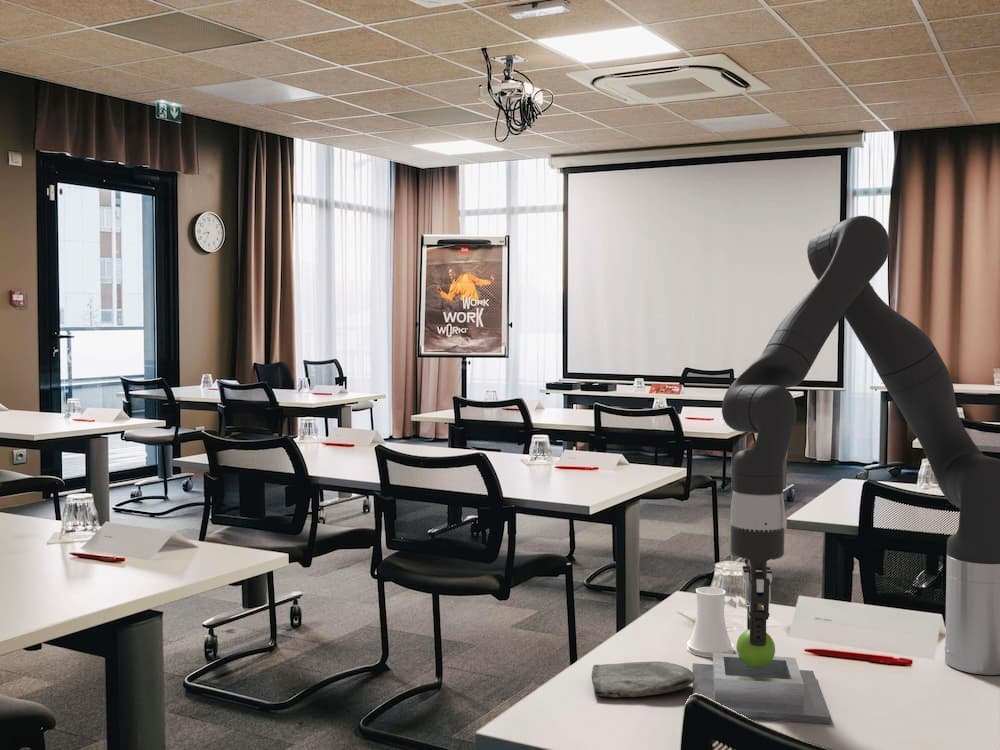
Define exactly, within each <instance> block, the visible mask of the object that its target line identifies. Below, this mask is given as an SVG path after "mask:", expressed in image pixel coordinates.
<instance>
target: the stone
mask: <svg viewBox="0 0 1000 750" xmlns="http://www.w3.org/2000/svg"><path fill="white" fill-rule="evenodd" d="M694 680H695V676H694V674H693V671H692V670H691V669H689V668H687V667H685V666H682V665H680V664H676V663H672V662H667V661H637V662H636V661H635V662H622V663H607V664H605V663H604V664H594V665H593V666H592V670H591V681H592V686H593V692H594V694H595V695H596V696H598V697H599V696H600V697H601V698H604V697H605V698H609V697H610V698H613V699H618V698H624V697H626V698H628V697H629V698H637V697H639V698H640V697H644V696H645V697H647V696H654V695H662V694H669V693H673V692H676V691H678V690H682V689H684V688H686V687H687V686H688V687H689V686H690V685H691V684H693V681H694Z"/></svg>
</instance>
